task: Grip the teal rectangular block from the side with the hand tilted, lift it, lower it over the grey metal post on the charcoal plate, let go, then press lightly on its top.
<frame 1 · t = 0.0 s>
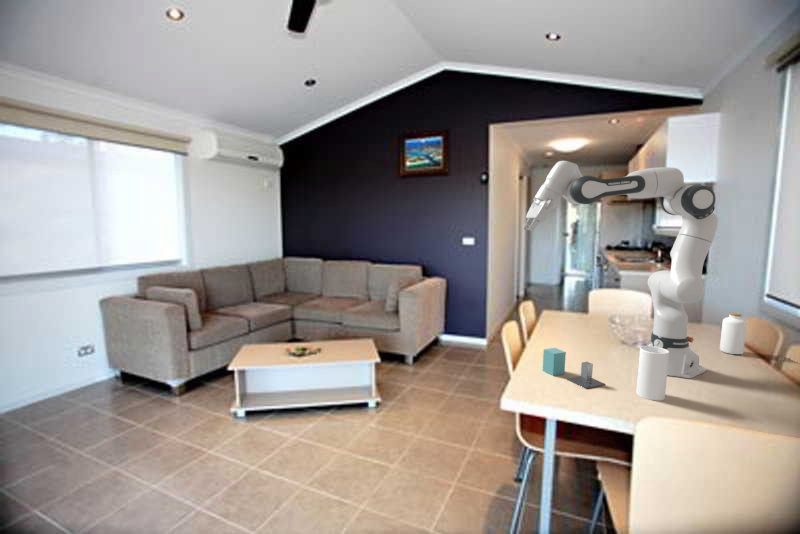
hand: (527, 230, 161), 54 cm above the table, tool tilted 30°, fingers open, 8 cm apart
cup: (650, 395, 138), on the table
potion bottle: (731, 353, 184), on the table
post: (585, 382, 148), on the table
teal rectangular block: (553, 372, 158), on the table
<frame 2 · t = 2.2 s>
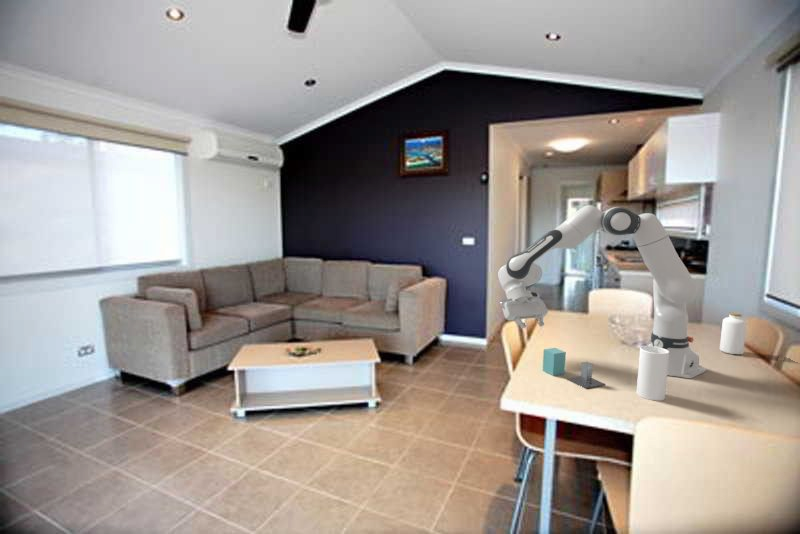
hand: (533, 326, 167), 15 cm above the table, tool tilted 45°, fingers open, 8 cm apart
nothing on the table moved.
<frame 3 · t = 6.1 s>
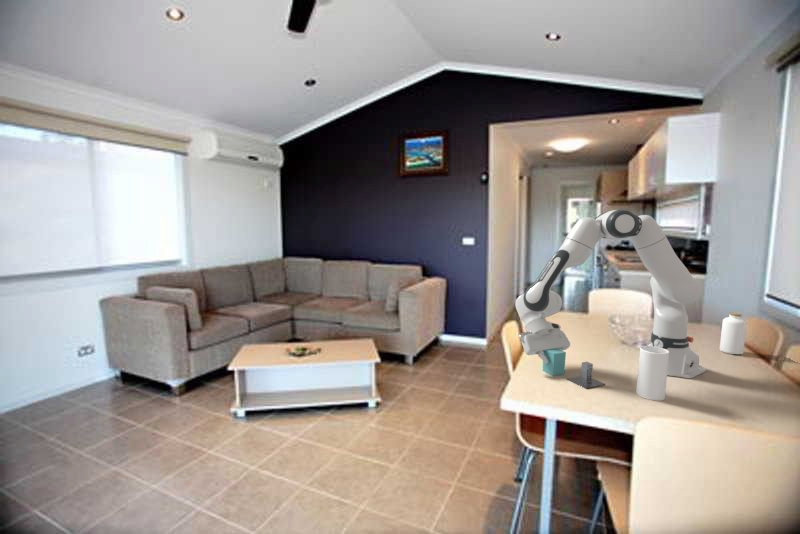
hand: (555, 361, 156), 4 cm above the table, tool tilted 45°, fingers closed on teal rectangular block, 6 cm apart
teal rectangular block: (553, 372, 158), on the table, touching gripper
everything else where it was.
when the fingers open (7 cm above the table, at t = 11.8 s): teal rectangular block drops 2 cm, resting on post.
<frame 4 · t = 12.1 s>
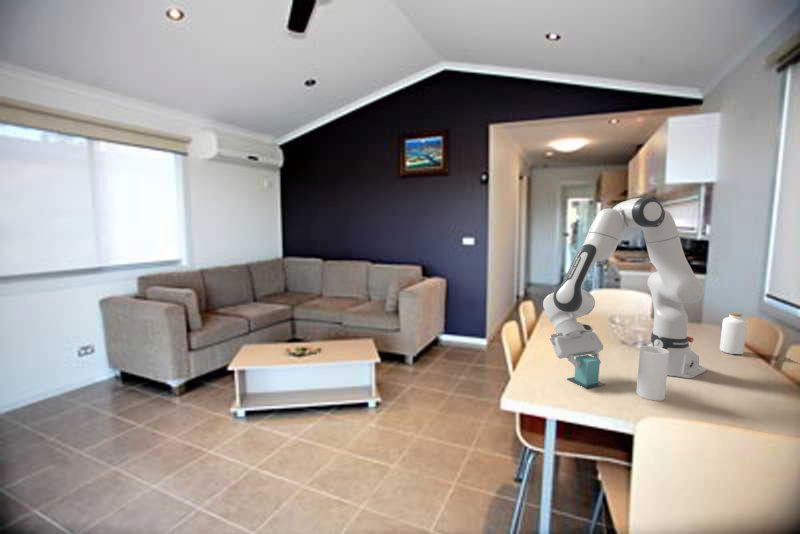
hand: (588, 365, 147), 7 cm above the table, tool tilted 45°, fingers open, 8 cm apart
teal rectangular block: (586, 381, 148), resting on post
everything else where it was.
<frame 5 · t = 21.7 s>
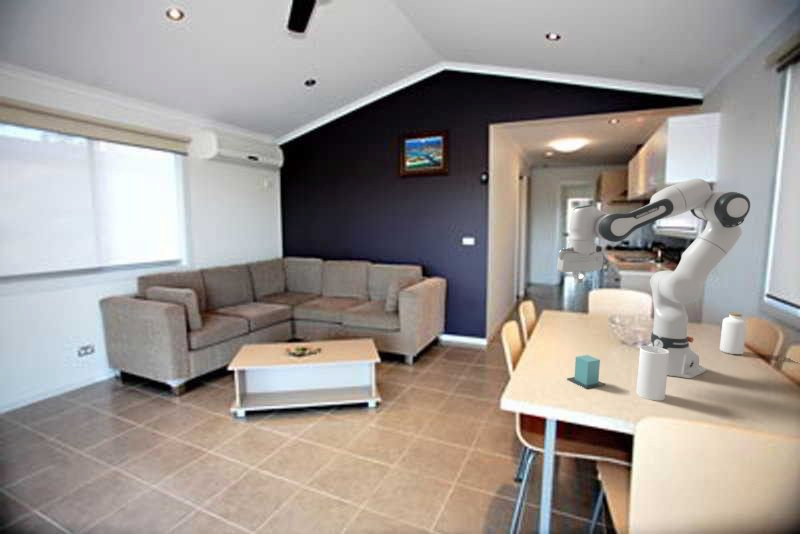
hand: (578, 282, 160), 34 cm above the table, tool pointing down, fingers closed
nothing on the table moved.
at the end: teal rectangular block 0.1 cm from the post (horizontally); teal rectangular block point 0.5 cm above the table; the gripper is holding nothing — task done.
